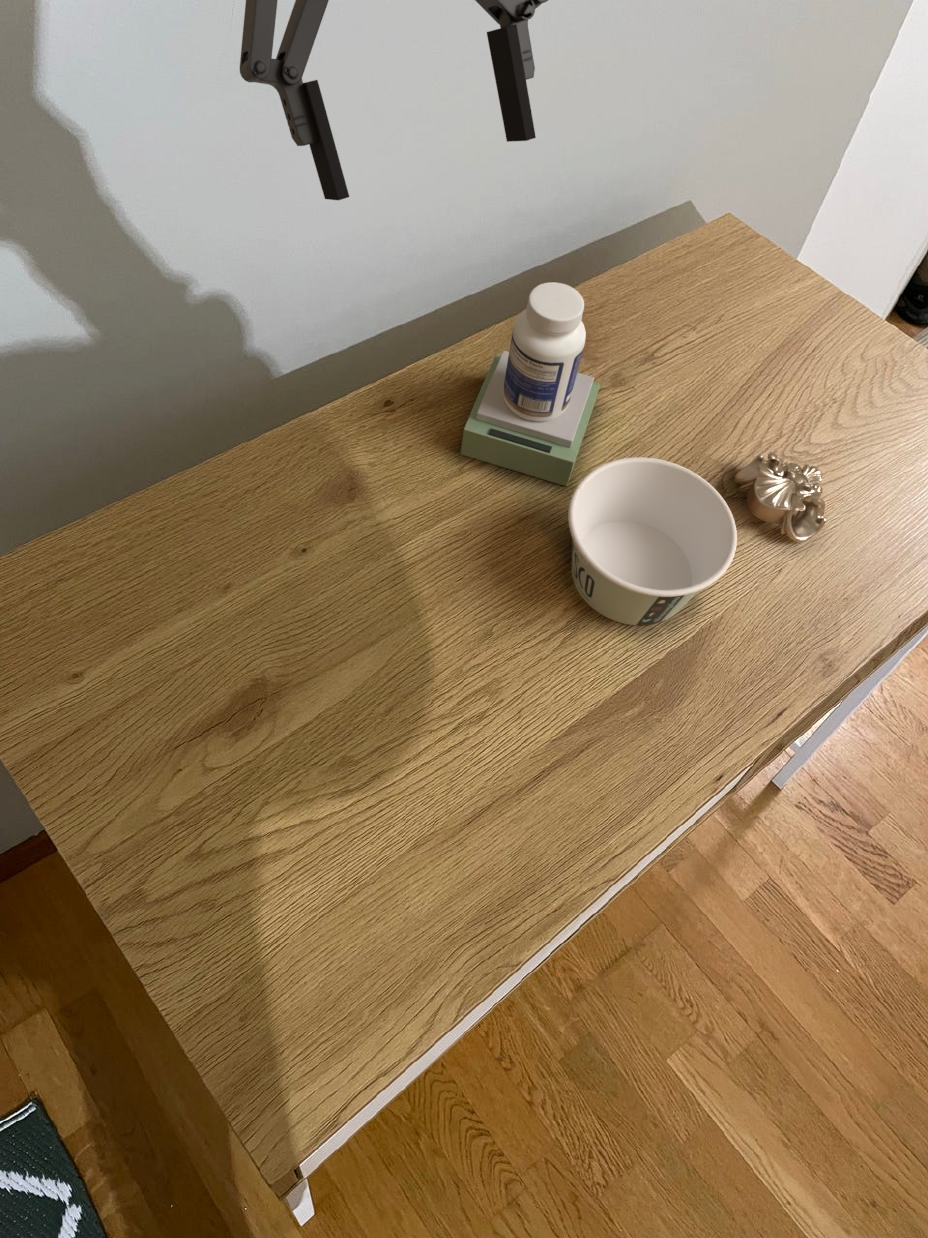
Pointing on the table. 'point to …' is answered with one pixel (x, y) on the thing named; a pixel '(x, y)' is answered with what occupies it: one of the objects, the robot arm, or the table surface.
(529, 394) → the pill bottle
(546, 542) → the table surface
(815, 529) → the ornament
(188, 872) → the table surface
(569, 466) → the scale
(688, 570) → the food container
